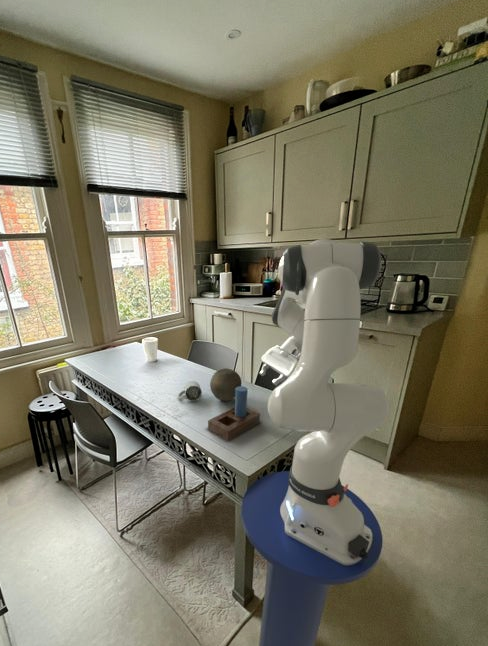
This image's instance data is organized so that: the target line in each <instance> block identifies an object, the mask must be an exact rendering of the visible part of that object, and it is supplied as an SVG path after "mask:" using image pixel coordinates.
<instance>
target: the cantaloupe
mask: <svg viewBox="0 0 488 646" xmlns="http://www.w3.org/2000/svg"><path fill="white" fill-rule="evenodd" d="M239 386H242V378H241V376H240V375H239V373H238V372H237V371H235V370H234V369H231V368H228V367H227V368H226V367H225V368H224V367H223V368H221V369H218V370H216V371H215V372H214V374H213V375H212V377H211V379H210V383H209V387H210V388H209V389H210V391H211V393H212V395H213V396H214V397H215V398H216V399H217V400H219V401H222V402H228V401H232V400H233V399H235V392H236V387H239Z"/></svg>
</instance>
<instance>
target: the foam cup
mask: <svg viewBox="0 0 488 646" xmlns="http://www.w3.org/2000/svg"><path fill="white" fill-rule="evenodd" d="M141 343H142V347H143V351H144V355H145V360H146V362H149V363H150V362H151V363H152V362H156V361H157V360H158V348H159V347H158V344H159V338H157V337H153V336H150V337H145V338H142V340H141Z"/></svg>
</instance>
